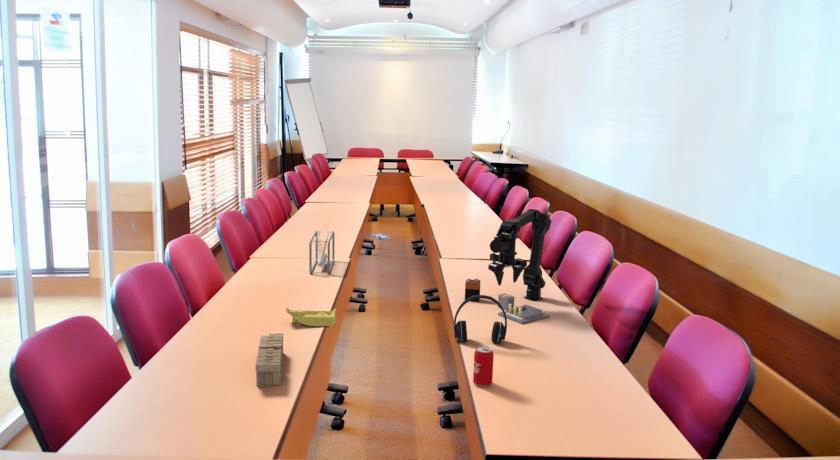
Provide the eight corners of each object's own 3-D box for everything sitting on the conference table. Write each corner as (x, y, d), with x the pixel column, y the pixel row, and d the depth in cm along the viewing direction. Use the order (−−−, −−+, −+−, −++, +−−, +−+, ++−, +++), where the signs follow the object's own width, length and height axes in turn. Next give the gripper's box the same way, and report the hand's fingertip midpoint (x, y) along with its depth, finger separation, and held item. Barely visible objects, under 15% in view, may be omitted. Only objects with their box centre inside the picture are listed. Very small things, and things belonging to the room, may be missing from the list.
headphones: (504, 339, 257) (507, 293, 254) (506, 345, 250) (509, 299, 247) (453, 337, 258) (454, 292, 254) (453, 343, 251) (455, 297, 248)
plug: (504, 306, 299) (505, 293, 298) (513, 309, 295) (514, 296, 294) (497, 307, 297) (498, 294, 296) (507, 311, 292) (507, 297, 291)
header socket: (525, 308, 296) (526, 296, 295) (549, 317, 286) (550, 304, 285) (498, 315, 286) (498, 302, 285) (521, 324, 275) (522, 311, 274)
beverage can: (479, 378, 220) (480, 344, 218) (495, 383, 217) (497, 348, 214) (469, 384, 215) (470, 349, 213) (486, 389, 212) (487, 354, 209)
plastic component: (333, 311, 278) (336, 308, 269) (332, 329, 276) (336, 326, 267) (284, 310, 273) (286, 306, 264) (284, 328, 271) (285, 325, 262)
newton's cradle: (315, 261, 373) (315, 229, 370) (334, 261, 374) (334, 230, 370) (309, 274, 344) (309, 241, 340) (329, 275, 344) (329, 241, 341)
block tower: (261, 356, 236) (254, 388, 208) (261, 333, 235) (254, 362, 207) (284, 355, 238) (280, 387, 209) (283, 333, 236) (280, 361, 208)
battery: (479, 301, 305) (480, 280, 303) (464, 300, 306) (465, 279, 304) (479, 299, 309) (480, 278, 307) (465, 298, 310) (465, 277, 308)
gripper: (510, 243, 303) (509, 276, 306) (480, 248, 292) (479, 282, 295) (528, 248, 294) (526, 282, 297) (498, 253, 283) (496, 288, 286)
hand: (507, 283), depth 294 cm, fingers open, 9 cm apart
